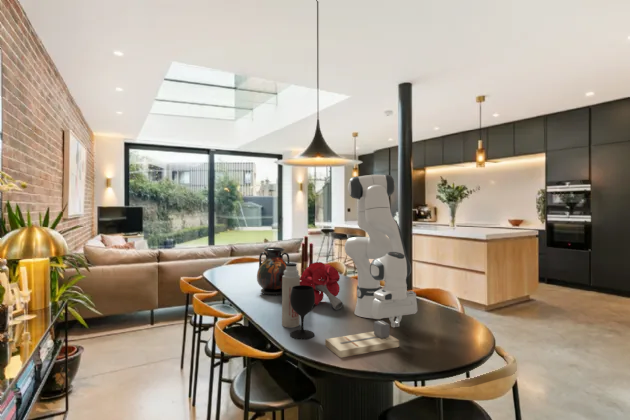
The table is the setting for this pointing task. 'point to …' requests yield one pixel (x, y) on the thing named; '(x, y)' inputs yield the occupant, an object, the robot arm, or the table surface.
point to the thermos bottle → (288, 283)
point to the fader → (381, 329)
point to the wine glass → (302, 308)
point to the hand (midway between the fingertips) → (395, 326)
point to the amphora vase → (272, 271)
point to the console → (360, 344)
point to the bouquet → (322, 282)
